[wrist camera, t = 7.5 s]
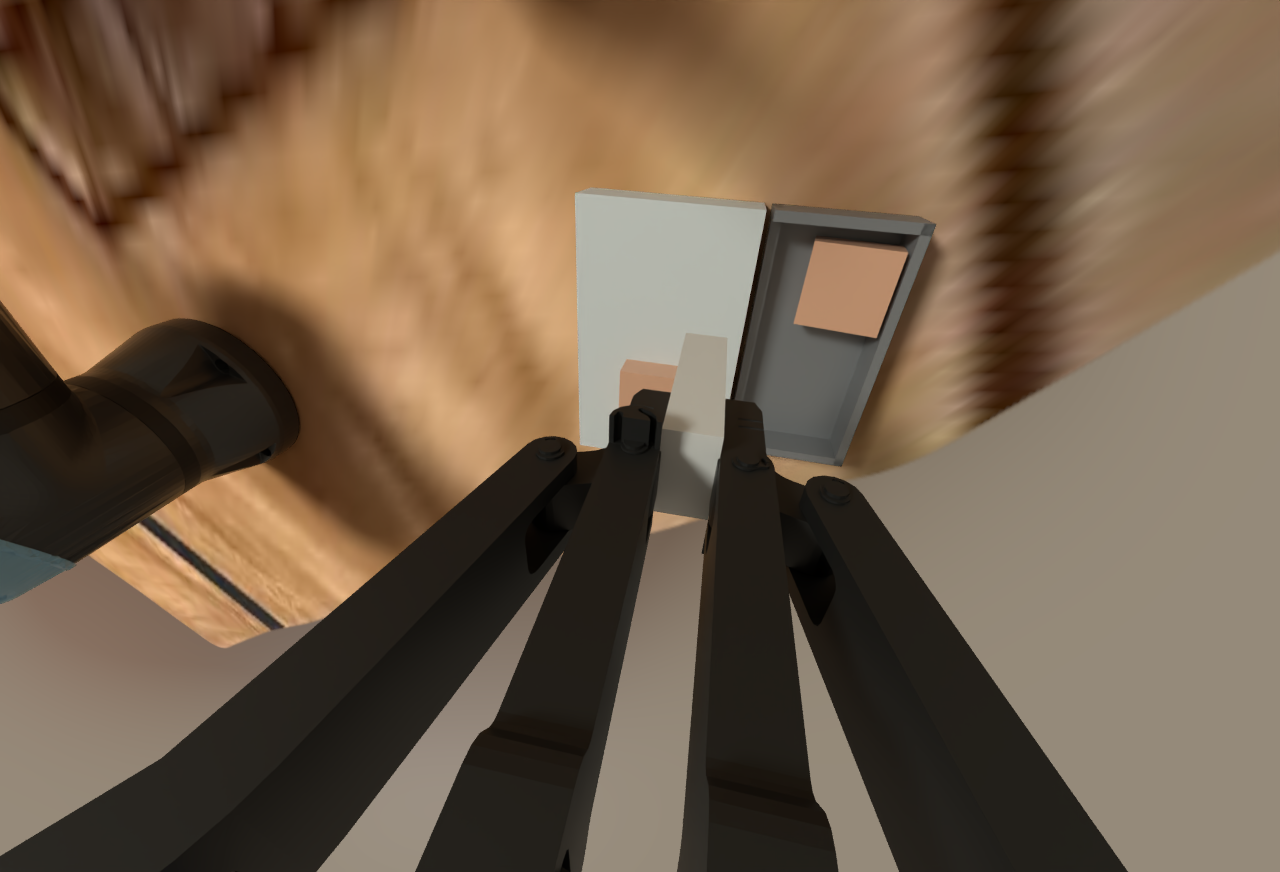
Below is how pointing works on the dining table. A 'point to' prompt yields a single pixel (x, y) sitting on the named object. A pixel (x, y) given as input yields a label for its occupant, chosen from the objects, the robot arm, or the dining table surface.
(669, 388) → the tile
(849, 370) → the tray
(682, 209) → the board
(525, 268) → the dining table surface
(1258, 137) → the dining table surface
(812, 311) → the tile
